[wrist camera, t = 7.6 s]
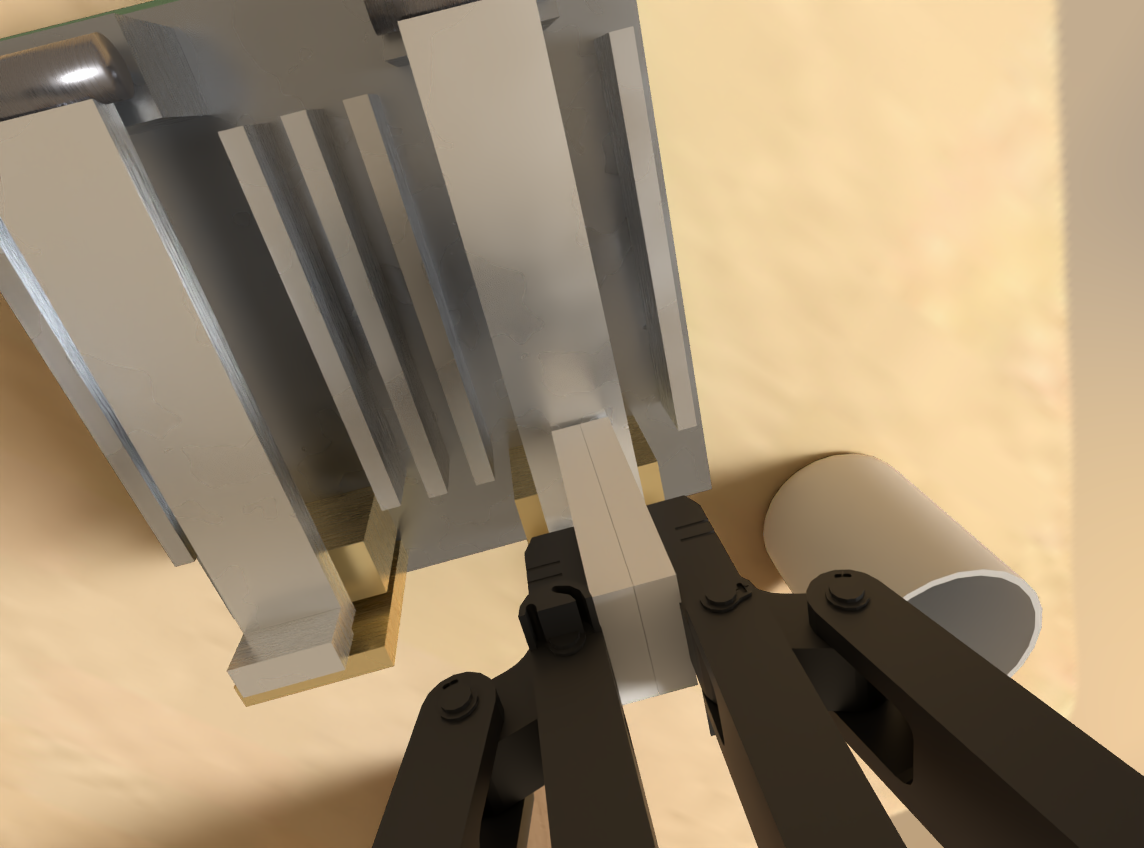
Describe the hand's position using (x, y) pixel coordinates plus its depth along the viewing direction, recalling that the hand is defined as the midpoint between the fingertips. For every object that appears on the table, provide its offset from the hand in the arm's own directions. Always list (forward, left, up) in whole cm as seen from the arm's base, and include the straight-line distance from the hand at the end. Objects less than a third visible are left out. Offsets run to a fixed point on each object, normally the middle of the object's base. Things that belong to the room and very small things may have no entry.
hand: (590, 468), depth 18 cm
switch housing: (-5, +4, -10) cm, 12 cm away
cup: (+10, -13, -10) cm, 20 cm away
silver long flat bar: (0, +4, -1) cm, 4 cm away
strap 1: (-9, +4, -1) cm, 10 cm away
